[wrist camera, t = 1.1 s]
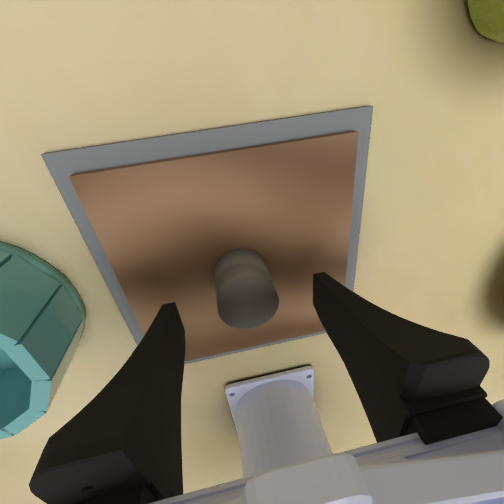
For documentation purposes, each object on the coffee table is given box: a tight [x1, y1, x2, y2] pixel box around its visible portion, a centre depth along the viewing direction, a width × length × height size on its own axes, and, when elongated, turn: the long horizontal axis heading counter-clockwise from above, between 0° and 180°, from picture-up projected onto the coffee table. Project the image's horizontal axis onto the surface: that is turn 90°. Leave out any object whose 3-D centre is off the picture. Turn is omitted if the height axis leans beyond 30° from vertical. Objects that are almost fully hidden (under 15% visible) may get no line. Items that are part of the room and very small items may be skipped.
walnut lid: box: [69, 130, 359, 362], centre depth 15 cm, size 14×14×4 cm
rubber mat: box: [41, 106, 373, 364], centre depth 17 cm, size 16×16×1 cm
